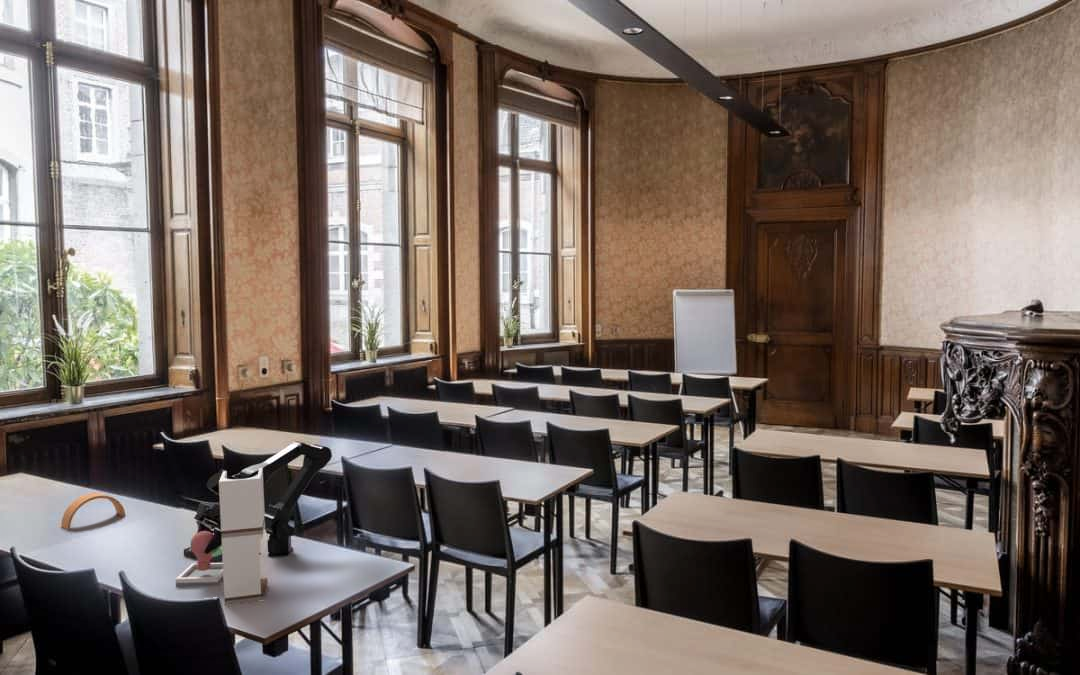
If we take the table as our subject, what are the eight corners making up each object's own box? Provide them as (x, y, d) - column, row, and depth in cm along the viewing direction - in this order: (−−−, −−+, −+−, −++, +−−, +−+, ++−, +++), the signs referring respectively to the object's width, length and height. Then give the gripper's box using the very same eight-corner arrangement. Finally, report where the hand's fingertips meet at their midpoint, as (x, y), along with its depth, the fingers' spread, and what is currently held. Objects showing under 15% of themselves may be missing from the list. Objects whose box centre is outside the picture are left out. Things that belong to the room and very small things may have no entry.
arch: (125, 515, 292) (124, 490, 291) (67, 530, 276) (65, 503, 275) (118, 513, 296) (117, 487, 295) (61, 527, 280) (59, 500, 279)
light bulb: (222, 566, 236) (220, 528, 234) (209, 575, 229) (206, 536, 227) (201, 565, 237) (198, 527, 235) (187, 574, 230) (184, 535, 228)
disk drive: (183, 557, 251) (213, 565, 243) (182, 549, 250) (212, 556, 243) (210, 547, 260) (240, 554, 252) (209, 539, 259) (240, 546, 252)
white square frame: (232, 569, 239) (231, 562, 239) (217, 585, 227) (216, 578, 227) (192, 570, 238) (192, 563, 238) (175, 586, 227) (175, 578, 226)
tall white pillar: (265, 600, 216) (260, 478, 213) (224, 605, 213) (218, 481, 210) (267, 584, 227) (262, 468, 224) (228, 589, 224) (223, 471, 221)
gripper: (198, 486, 239) (164, 530, 232) (228, 497, 227) (194, 544, 220) (224, 504, 246) (192, 548, 239) (254, 516, 234) (222, 562, 227)
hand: (199, 550), depth 231 cm, fingers closed on light bulb, 7 cm apart
